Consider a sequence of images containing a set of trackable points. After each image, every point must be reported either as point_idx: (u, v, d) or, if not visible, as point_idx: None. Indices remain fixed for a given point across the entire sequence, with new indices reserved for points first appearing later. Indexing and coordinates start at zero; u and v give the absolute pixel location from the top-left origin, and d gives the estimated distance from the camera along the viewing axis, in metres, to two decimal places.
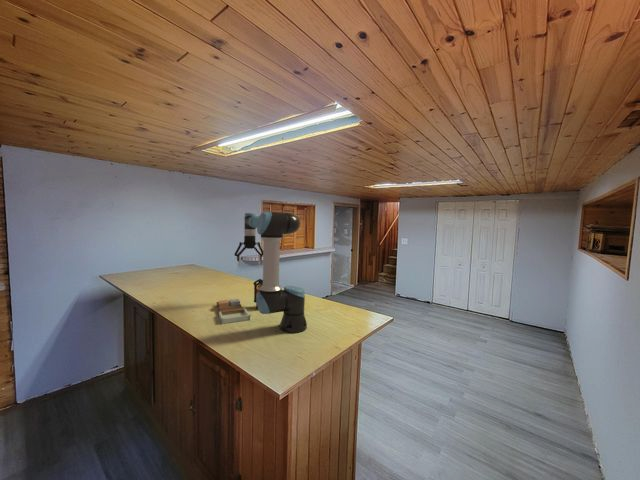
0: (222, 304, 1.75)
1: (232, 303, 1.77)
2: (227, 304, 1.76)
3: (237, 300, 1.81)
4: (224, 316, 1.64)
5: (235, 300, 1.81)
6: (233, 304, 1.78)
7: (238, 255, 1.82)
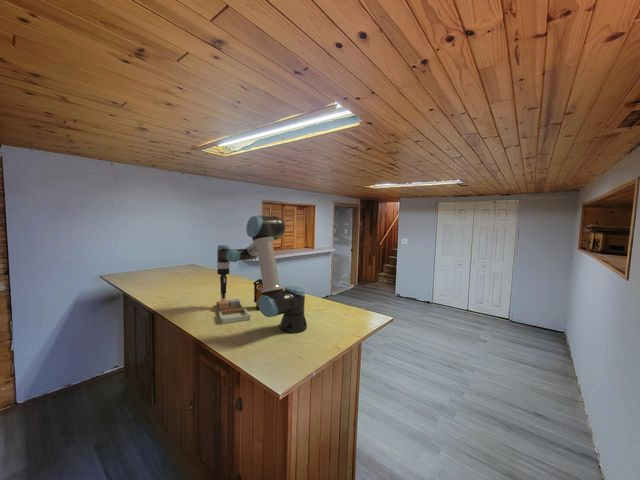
0: (223, 305, 1.74)
1: (232, 303, 1.77)
2: (227, 304, 1.75)
3: (237, 300, 1.81)
4: (224, 316, 1.64)
5: (235, 300, 1.81)
6: (233, 304, 1.78)
7: (221, 291, 1.80)
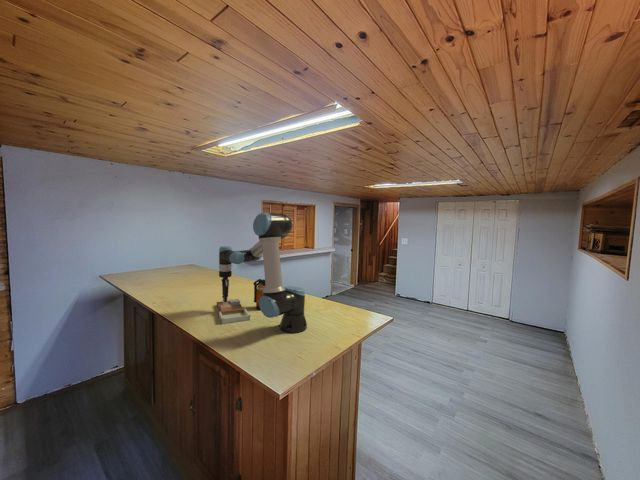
0: (224, 309, 1.66)
1: (232, 303, 1.77)
2: (229, 309, 1.68)
3: (237, 300, 1.81)
4: (224, 316, 1.64)
5: (235, 300, 1.81)
6: (233, 304, 1.78)
7: None
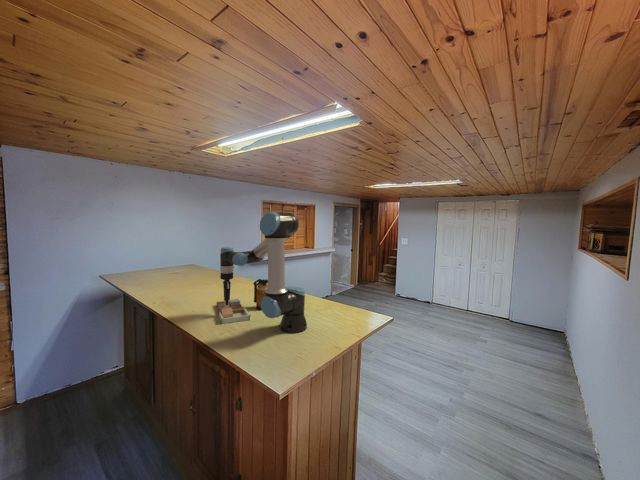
0: (226, 316, 1.61)
1: (232, 303, 1.77)
2: (231, 315, 1.62)
3: (237, 300, 1.81)
4: None
5: (235, 300, 1.81)
6: (233, 304, 1.78)
7: (224, 297, 1.67)
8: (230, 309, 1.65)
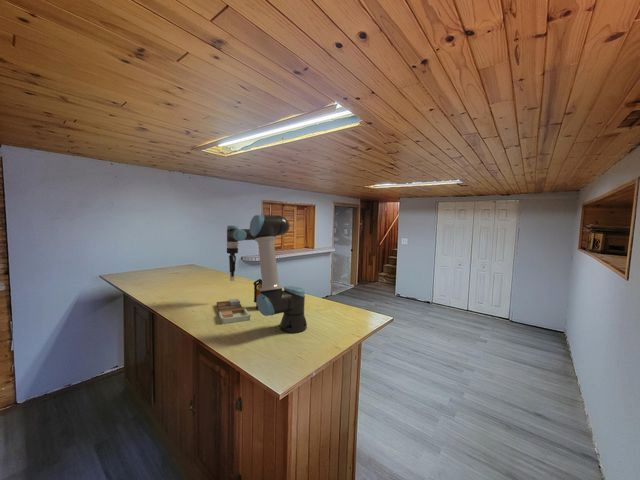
0: (226, 316, 1.60)
1: (232, 303, 1.77)
2: (231, 316, 1.61)
3: (237, 300, 1.81)
4: None
5: (235, 300, 1.81)
6: (233, 304, 1.78)
7: (230, 270, 1.89)
8: (230, 311, 1.65)
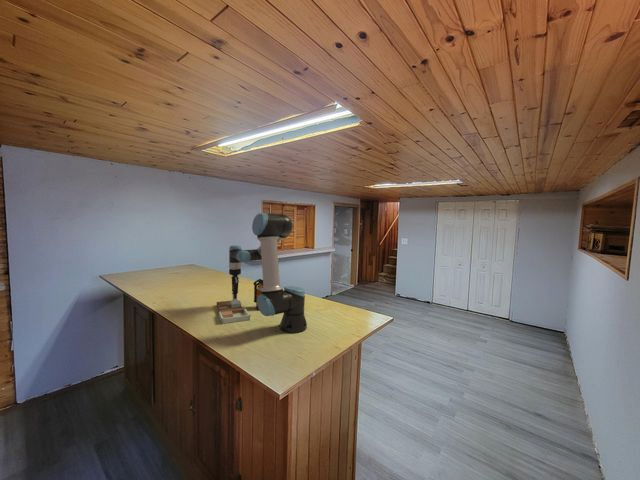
0: (226, 316, 1.60)
1: (233, 305, 1.74)
2: (231, 316, 1.61)
3: (238, 302, 1.78)
4: None
5: (236, 302, 1.77)
6: (234, 306, 1.74)
7: None
8: (230, 311, 1.65)
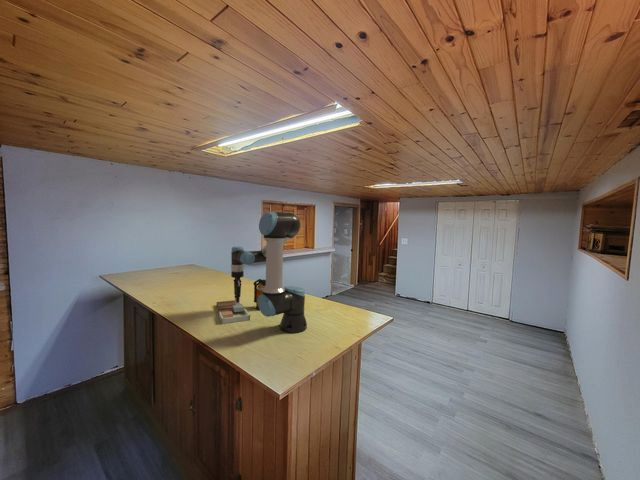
0: (226, 316, 1.60)
1: (235, 309, 1.66)
2: (231, 316, 1.61)
3: (241, 306, 1.70)
4: None
5: (239, 306, 1.70)
6: (237, 310, 1.67)
7: None
8: (230, 311, 1.65)
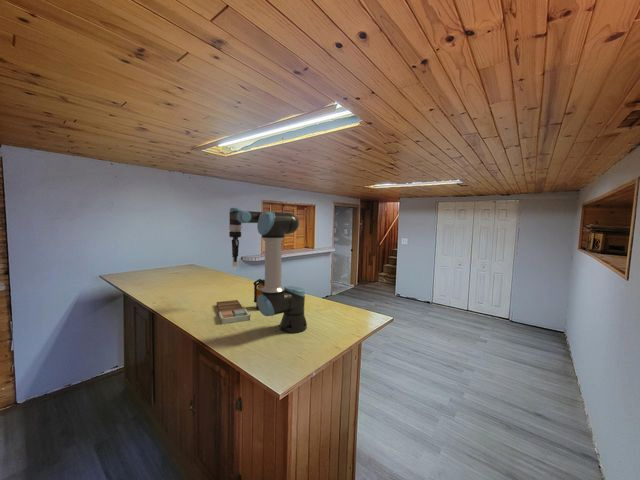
0: (226, 316, 1.60)
1: (237, 315, 1.62)
2: (231, 316, 1.61)
3: (242, 311, 1.66)
4: None
5: (240, 311, 1.66)
6: None
7: None
8: (230, 311, 1.65)
